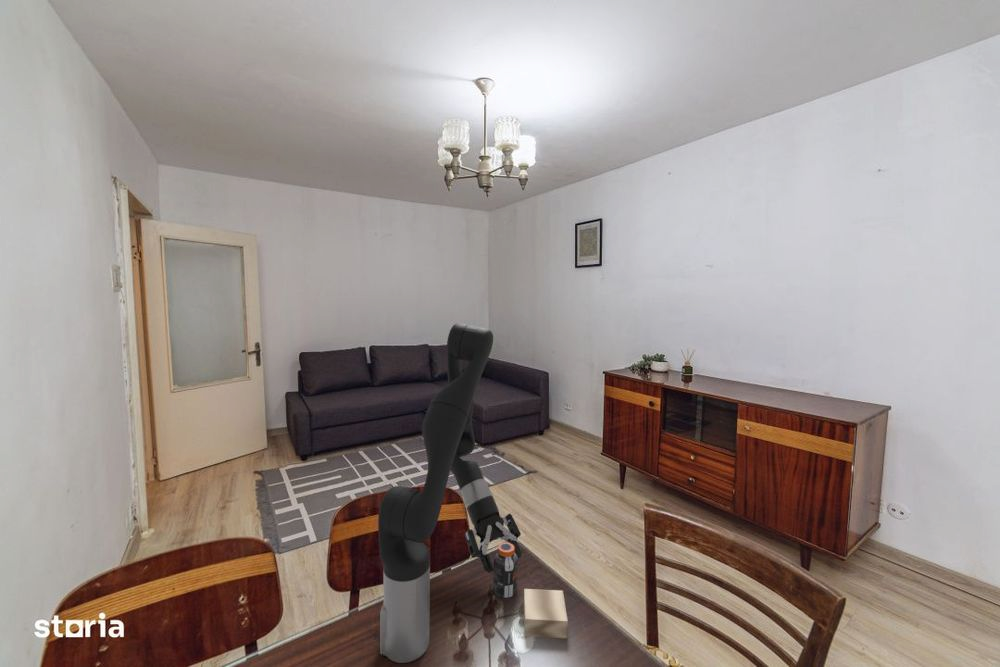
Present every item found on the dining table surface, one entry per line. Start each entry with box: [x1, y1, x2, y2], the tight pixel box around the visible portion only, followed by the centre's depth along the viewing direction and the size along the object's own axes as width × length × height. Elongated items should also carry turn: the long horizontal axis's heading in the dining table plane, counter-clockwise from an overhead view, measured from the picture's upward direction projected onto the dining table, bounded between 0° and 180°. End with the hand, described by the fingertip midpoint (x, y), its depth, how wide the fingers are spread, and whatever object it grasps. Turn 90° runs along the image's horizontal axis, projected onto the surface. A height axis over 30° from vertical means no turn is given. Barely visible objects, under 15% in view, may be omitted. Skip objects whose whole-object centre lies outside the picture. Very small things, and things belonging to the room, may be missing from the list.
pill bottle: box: [492, 542, 519, 599], centre depth 102 cm, size 6×6×11 cm
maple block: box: [523, 588, 569, 639], centre depth 93 cm, size 9×9×4 cm
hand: (505, 564), depth 102 cm, fingers open, 8 cm apart
